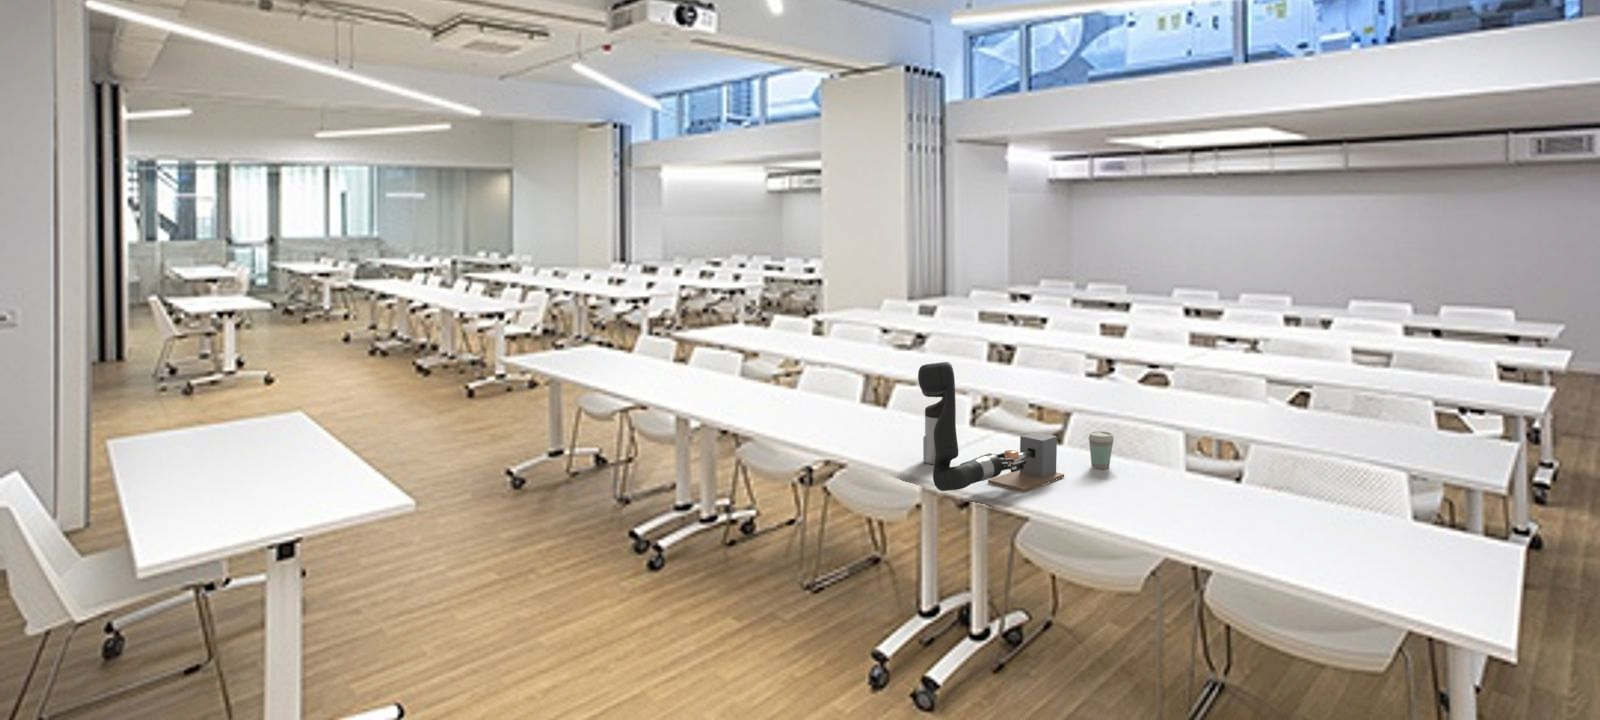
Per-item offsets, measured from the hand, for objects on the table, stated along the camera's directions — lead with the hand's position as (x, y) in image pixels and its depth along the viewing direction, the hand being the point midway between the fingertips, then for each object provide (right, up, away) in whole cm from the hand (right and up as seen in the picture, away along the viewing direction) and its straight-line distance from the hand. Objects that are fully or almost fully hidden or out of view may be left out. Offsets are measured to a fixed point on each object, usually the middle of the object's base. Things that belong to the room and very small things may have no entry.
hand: (1015, 458), depth 298 cm
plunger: (+2, -2, +2) cm, 4 cm away
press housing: (+5, -8, +6) cm, 11 cm away
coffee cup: (+34, -5, +19) cm, 39 cm away
